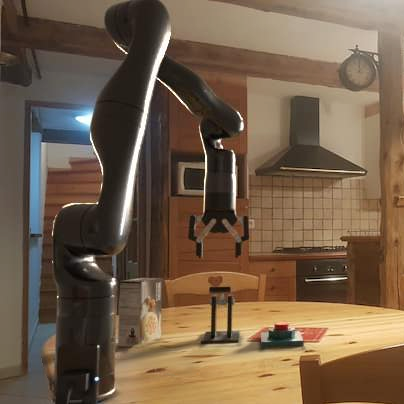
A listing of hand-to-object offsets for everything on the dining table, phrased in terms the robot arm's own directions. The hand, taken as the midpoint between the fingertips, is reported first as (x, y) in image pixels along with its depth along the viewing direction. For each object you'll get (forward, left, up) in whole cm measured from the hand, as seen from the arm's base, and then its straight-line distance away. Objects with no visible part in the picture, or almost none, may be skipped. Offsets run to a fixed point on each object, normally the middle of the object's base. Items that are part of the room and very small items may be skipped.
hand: (218, 258), depth 126 cm
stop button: (+2, -15, -18) cm, 24 cm away
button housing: (+2, -15, -22) cm, 27 cm away
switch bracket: (+9, 0, -22) cm, 24 cm away
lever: (+4, 0, -11) cm, 12 cm away
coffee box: (+10, +20, -22) cm, 31 cm away
